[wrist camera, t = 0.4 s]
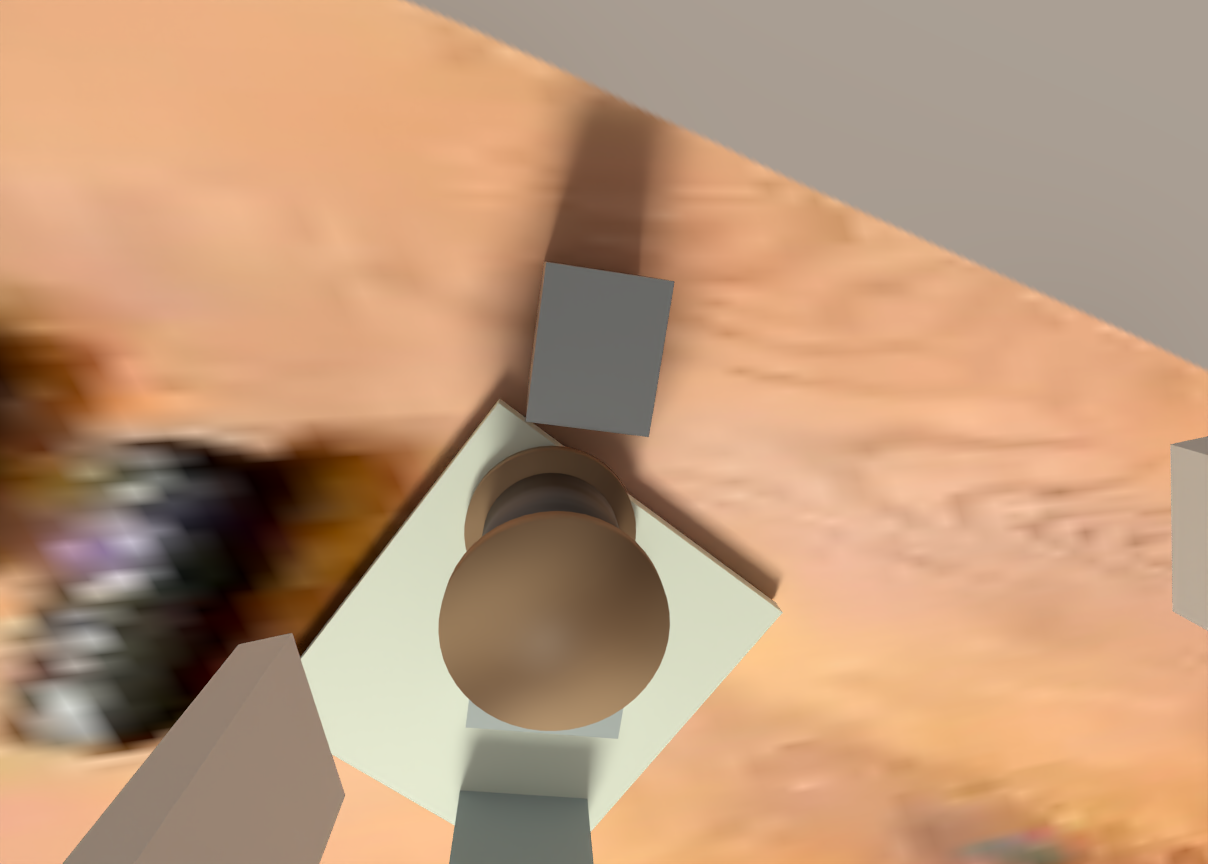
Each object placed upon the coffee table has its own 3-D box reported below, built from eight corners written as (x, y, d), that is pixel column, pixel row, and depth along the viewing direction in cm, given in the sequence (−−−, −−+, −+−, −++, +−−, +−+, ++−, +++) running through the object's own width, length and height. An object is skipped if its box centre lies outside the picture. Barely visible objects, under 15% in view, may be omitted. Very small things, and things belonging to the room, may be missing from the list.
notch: (456, 823, 35) (443, 904, 30) (479, 628, 32) (470, 685, 28) (582, 830, 35) (588, 911, 31) (613, 640, 33) (624, 698, 29)
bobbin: (431, 543, 31) (391, 653, 23) (534, 411, 30) (533, 473, 22) (565, 633, 33) (575, 769, 24) (667, 510, 32) (716, 605, 23)
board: (267, 699, 33) (259, 712, 32) (499, 398, 31) (498, 403, 30) (548, 863, 37) (548, 879, 36) (775, 602, 35) (782, 612, 34)
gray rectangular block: (528, 381, 31) (525, 421, 23) (543, 261, 30) (546, 261, 22) (621, 393, 32) (648, 436, 24) (639, 275, 31) (674, 281, 23)
